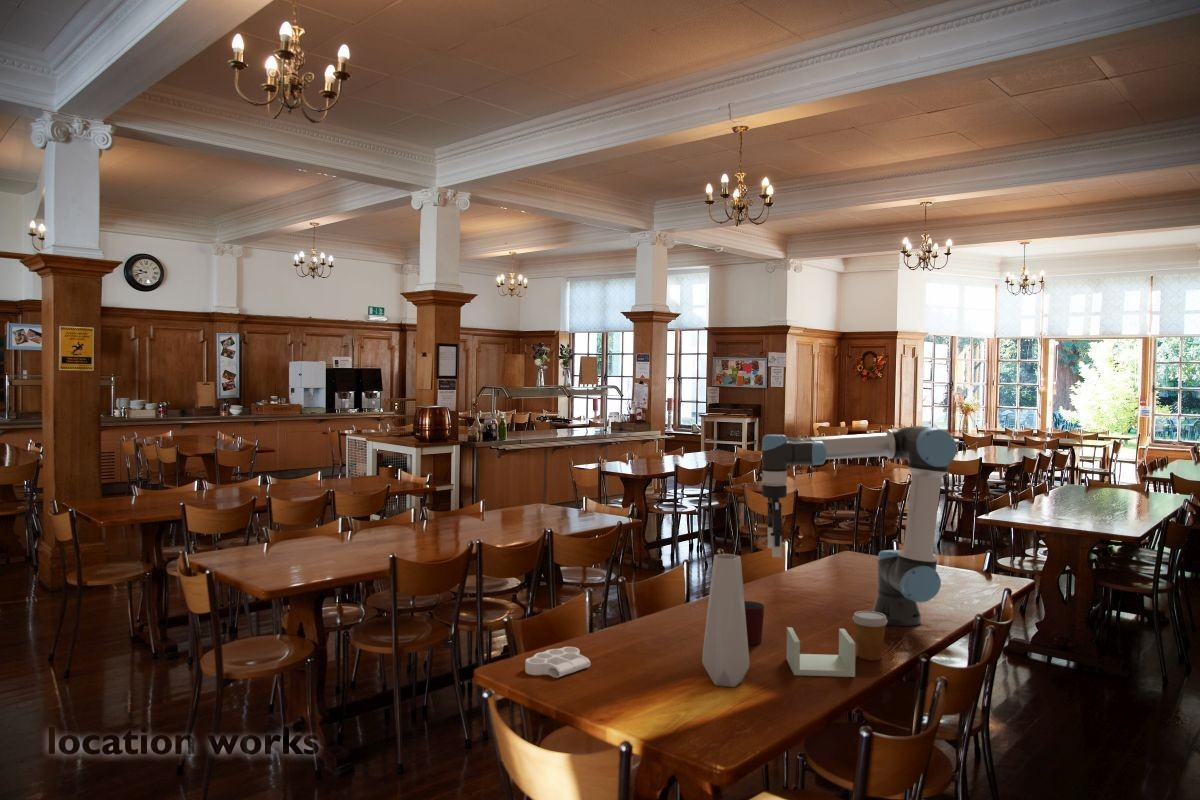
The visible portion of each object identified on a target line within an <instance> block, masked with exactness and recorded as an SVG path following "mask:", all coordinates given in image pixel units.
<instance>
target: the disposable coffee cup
mask: <svg viewBox="0 0 1200 800" xmlns="http://www.w3.org/2000/svg"><path fill="white" fill-rule="evenodd" d="M852 621H853V623H854V624H853V625H854V630H855V640H856V648H857V656H858V657H859V658H861V659H863V660H867V661H878V660H881V659H882V655H883V649H884V648H883V647H884V640H885V633H886V627H887V625H888V624H887V622H888V621H887V619H886V616H885V615H884V614H882V613H879V612H874V611H872V610H859V611H856V612H854V614H853V616H852Z"/></svg>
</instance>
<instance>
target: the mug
mask: <svg viewBox="0 0 1200 800" xmlns="http://www.w3.org/2000/svg"><path fill="white" fill-rule="evenodd" d="M744 603H745V615H746V627H747V639H748V646H755V645H760V644H761V643H762V637H763V629H764V627H763V626H764V618H765V617H764V616H765V615H764V614H765V605H764V604H763V603H761V602H757V601H750V600H744Z"/></svg>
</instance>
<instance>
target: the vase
mask: <svg viewBox="0 0 1200 800" xmlns="http://www.w3.org/2000/svg"><path fill="white" fill-rule="evenodd" d="M741 560H742V558H741V556H740V555H736V554H732V553H731V554H730V553H720V554H714V555H713V561H712V567H711V568H712V570H711V578H710V588H709V594H708V595H709V596H708V603H707V612H706V619H705V621H706V622H705V630H704V631H705V632H704V638H703V647H702V656H701V657H702V659H701V663H702V665H703V667H704V668H705V671H706V672H707V674H708V676H709V677H710V679H711V681H712V683H713V684H714V685H715V686H718V687H728V688H729V687H730V688H735V687H737V686H738V685H739V684H741V683H742V681H743V680H744V678H745V676H746V674H747V672H748V669H749V668H750V653H749V645H748V639H747V627H746V615H745V603H744V601H745V595H744V579H743V571H742V561H741Z"/></svg>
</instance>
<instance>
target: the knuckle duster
mask: <svg viewBox="0 0 1200 800" xmlns="http://www.w3.org/2000/svg"><path fill="white" fill-rule="evenodd" d="M524 663H525V670H524V672H525V673H526V674H527V675H532V676H542V675H546V676H547V675H549V676H550V677H553V678H556V679H558V678H561V677H563V676H566V675H569V674H572V673H575V672H577V671H581V670H584V669H587V668H589V667H591V665H592V663H591V661H590V659H589V658H588V657H587V656H584V655H583V654H581V653H580V649H579V648H577V647H576V646H575V647H574V646H563V647H561V648H552V649H551V648H550V649H547V650H545V651H541V652H536V653H535V654H533V656H531V657H528V658H526V659H525V661H524Z"/></svg>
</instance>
